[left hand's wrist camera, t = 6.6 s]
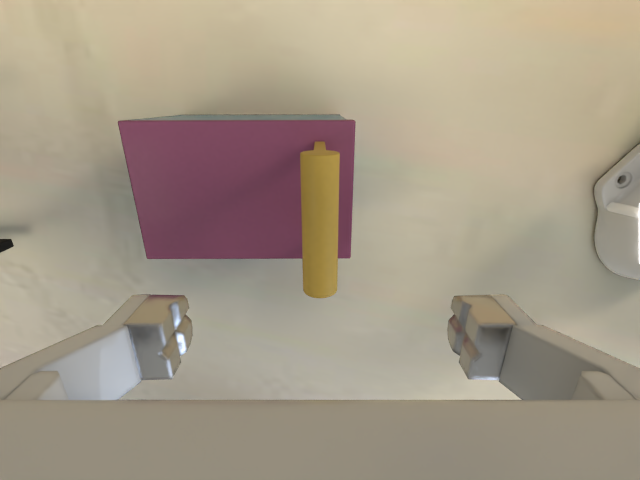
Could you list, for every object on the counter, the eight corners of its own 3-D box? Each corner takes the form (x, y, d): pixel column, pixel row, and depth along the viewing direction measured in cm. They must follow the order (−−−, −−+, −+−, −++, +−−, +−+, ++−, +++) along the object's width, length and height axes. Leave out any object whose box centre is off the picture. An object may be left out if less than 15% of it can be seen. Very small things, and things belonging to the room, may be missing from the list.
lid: (353, 119, 23) (372, 128, 15) (349, 252, 27) (362, 316, 19) (126, 120, 23) (23, 129, 15) (153, 253, 27) (82, 317, 19)
